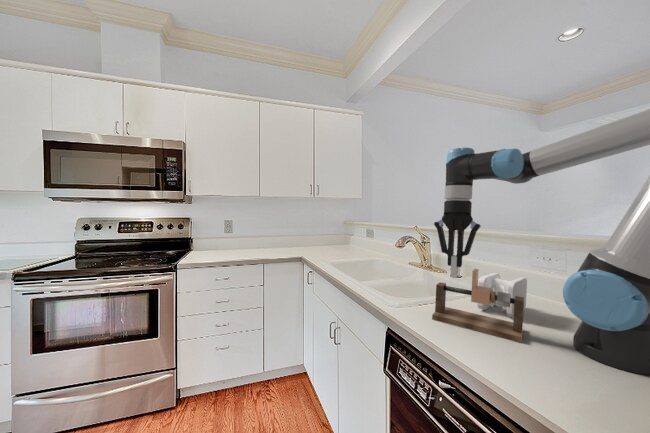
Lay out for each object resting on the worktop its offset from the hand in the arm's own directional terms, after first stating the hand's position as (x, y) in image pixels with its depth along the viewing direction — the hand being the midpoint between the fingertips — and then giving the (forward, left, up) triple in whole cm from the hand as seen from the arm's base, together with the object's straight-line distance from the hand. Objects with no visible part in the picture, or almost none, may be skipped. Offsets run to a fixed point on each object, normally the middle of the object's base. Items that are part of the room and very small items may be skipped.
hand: (454, 276), depth 83 cm
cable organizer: (-12, -19, -13) cm, 26 cm away
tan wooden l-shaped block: (-8, 0, -6) cm, 10 cm away
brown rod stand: (-7, 0, -13) cm, 14 cm away
